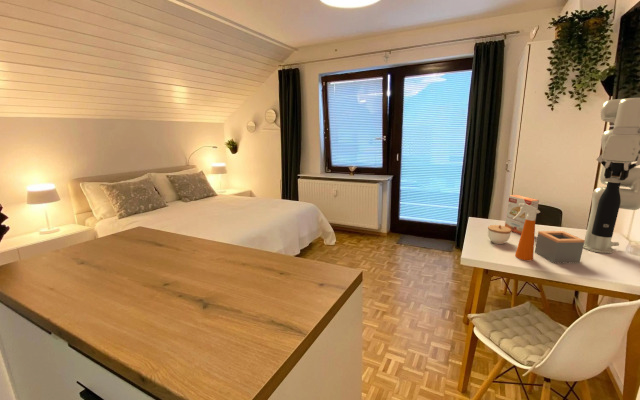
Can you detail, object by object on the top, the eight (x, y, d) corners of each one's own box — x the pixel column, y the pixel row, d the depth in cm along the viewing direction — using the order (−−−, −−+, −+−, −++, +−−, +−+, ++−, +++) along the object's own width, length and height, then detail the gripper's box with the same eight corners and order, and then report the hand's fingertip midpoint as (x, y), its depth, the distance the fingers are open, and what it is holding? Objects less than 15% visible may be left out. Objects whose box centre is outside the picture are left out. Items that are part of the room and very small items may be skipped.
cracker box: (503, 228, 180) (508, 195, 175) (511, 227, 182) (516, 194, 177) (525, 236, 167) (531, 200, 162) (533, 235, 169) (539, 199, 164)
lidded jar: (508, 240, 162) (511, 223, 160) (510, 247, 153) (513, 229, 151) (486, 237, 167) (488, 221, 165) (486, 243, 158) (488, 226, 156)
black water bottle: (601, 231, 128) (618, 161, 120) (616, 237, 121) (635, 164, 114) (587, 232, 127) (603, 162, 120) (601, 237, 121) (619, 164, 114)
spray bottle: (504, 253, 146) (512, 201, 139) (528, 255, 143) (538, 202, 137) (509, 259, 139) (518, 205, 133) (535, 261, 137) (546, 206, 130)
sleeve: (558, 252, 147) (563, 231, 144) (579, 263, 135) (584, 240, 132) (534, 252, 147) (538, 231, 144) (553, 263, 135) (558, 240, 132)
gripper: (661, 132, 108) (648, 181, 113) (603, 131, 123) (593, 175, 127) (652, 132, 105) (639, 183, 110) (594, 131, 120) (584, 176, 124)
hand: (614, 178), depth 118 cm, fingers closed on black water bottle, 3 cm apart
